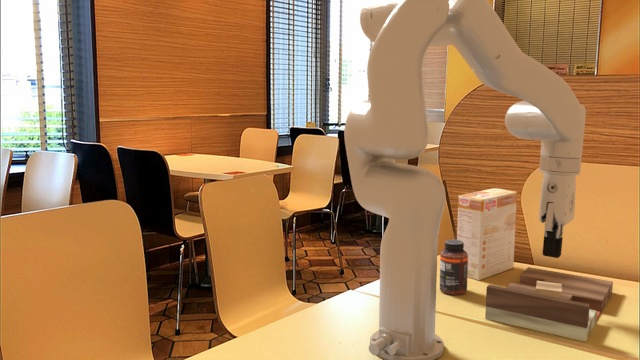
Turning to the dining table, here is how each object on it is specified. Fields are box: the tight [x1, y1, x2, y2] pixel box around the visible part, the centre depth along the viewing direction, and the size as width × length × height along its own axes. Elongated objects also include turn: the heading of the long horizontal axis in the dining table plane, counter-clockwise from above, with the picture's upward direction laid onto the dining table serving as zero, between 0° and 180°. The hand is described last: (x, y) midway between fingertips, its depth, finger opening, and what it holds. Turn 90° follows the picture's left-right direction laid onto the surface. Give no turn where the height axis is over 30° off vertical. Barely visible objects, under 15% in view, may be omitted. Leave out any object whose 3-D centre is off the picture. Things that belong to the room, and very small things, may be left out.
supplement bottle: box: [439, 239, 468, 296], centre depth 125 cm, size 6×6×11 cm
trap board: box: [484, 266, 614, 343], centre depth 117 cm, size 30×18×6 cm, turn 145°
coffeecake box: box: [456, 187, 518, 281], centre depth 138 cm, size 15×7×20 cm, turn 130°
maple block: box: [536, 281, 562, 298], centre depth 108 cm, size 4×4×4 cm
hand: (551, 255), depth 114 cm, fingers closed
